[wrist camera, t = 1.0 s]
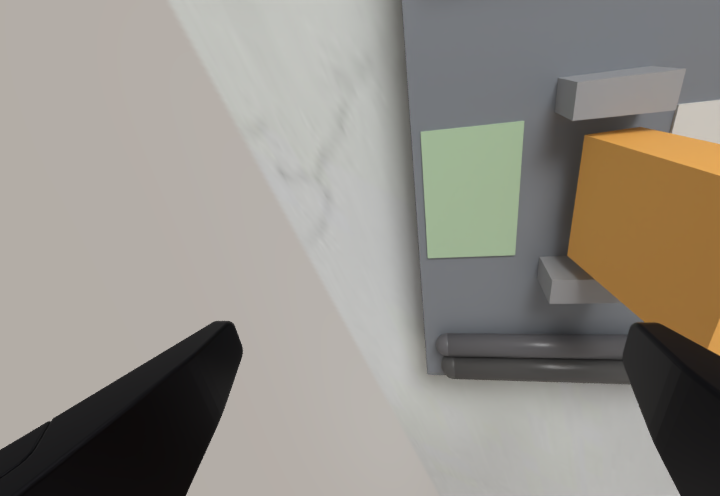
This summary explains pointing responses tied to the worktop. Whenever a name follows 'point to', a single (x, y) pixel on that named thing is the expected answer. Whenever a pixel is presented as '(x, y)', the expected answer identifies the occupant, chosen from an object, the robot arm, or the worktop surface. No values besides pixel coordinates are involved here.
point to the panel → (536, 166)
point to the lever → (652, 227)
